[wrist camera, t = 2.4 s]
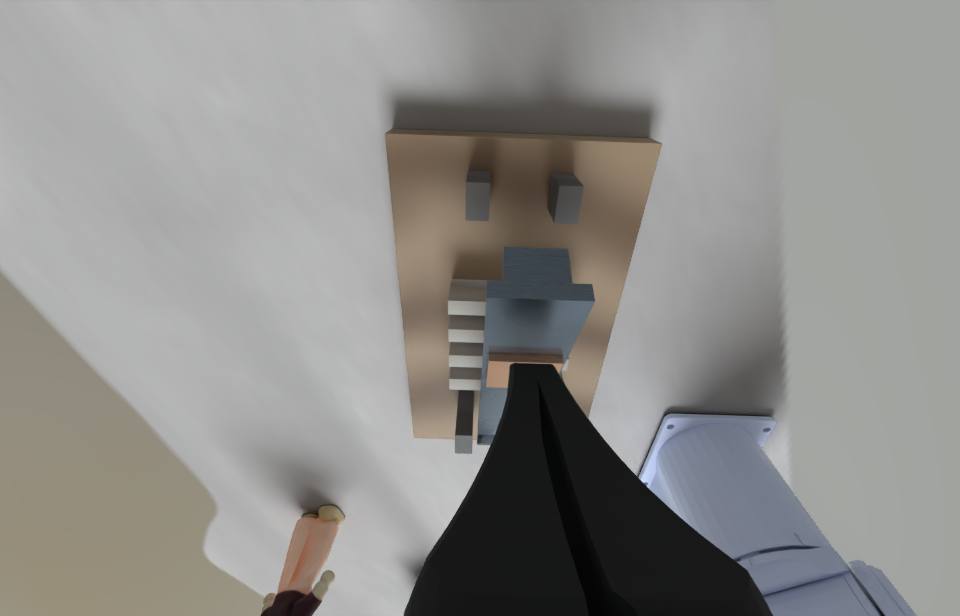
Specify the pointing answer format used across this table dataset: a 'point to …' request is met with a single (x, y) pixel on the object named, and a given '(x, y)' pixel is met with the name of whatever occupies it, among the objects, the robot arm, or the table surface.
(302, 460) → the table surface
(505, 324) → the bar
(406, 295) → the base
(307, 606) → the grandmother figurine
